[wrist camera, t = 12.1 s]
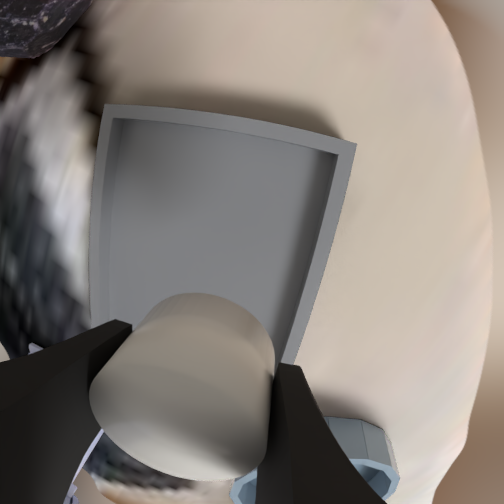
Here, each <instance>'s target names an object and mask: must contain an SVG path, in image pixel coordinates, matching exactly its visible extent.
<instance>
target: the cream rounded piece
mask: <svg viewBox="0 0 504 504" xmlns="http://www.w3.org/2000/svg"><path fill="white" fill-rule="evenodd" d="M274 366H275V353H274V347H273V344H272V341H271V339H270V337H269V335H268V333H267V331H266V330H265V328H264V327H263V325H262V324H261V323H260V322H259V321H258V320H257V319H256V318H255V317H254V316H253V315H252V314H251V313H250V312H248V311H247V310H246V309H244V308H243V307H241V306H239V305H238V304H236V303H234V302H232V301H230V300H227V299H225V298H222V297H219V296H216V295H211V294H206V293H183V294H178V295H174V296H171V297H168V298H166V299H164V300H162V301H161V302H159V303H158V304H157V305H155V306H154V307H153V308H152V309H151V310H150V311H149V313H148V314H147V315H146V316H145V317H144V319H143V320H142V321H141V322H140V323H139V324H138V326H137V327H136V328H135V329H134V330H133V332H132V333H131V334H130V335H129V336H128V338H127V339H126V340H125V341H124V342H123V344H122V345H121V346H120V347H119V349H118V350H117V351H116V352H115V353H114V355H113V356H112V357H111V358H110V359H109V361H108V362H107V363H106V364H105V366H104V367H103V368H102V369H101V371H100V372H99V373H98V374H97V376H96V377H95V378H94V380H93V382H92V383H91V386H90V390H89V400H90V406H91V409H92V412H93V414H94V416H95V418H96V420H97V422H98V423H99V425H100V426H101V428H102V429H103V430H104V432H105V433H106V434H107V435H108V436H109V437H110V439H111V440H112V441H113V442H114V443H116V444H117V445H118V446H119V447H120V448H121V449H123V450H124V451H125V452H126V453H128V454H129V455H131V456H132V457H134V458H135V459H137V460H139V461H140V462H142V463H144V464H146V465H148V466H150V467H152V468H154V469H156V470H159V471H161V472H164V473H167V474H170V475H173V476H177V477H180V478H185V479H190V480H198V481H222V480H229V479H234V478H237V477H240V476H243V475H245V474H247V473H249V472H251V471H252V470H254V469H255V468H256V467H257V466H258V465H259V464H260V463H261V462H262V460H263V459H264V457H265V454H266V450H267V440H268V431H269V421H270V410H271V400H272V389H273V377H274Z"/></svg>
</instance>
